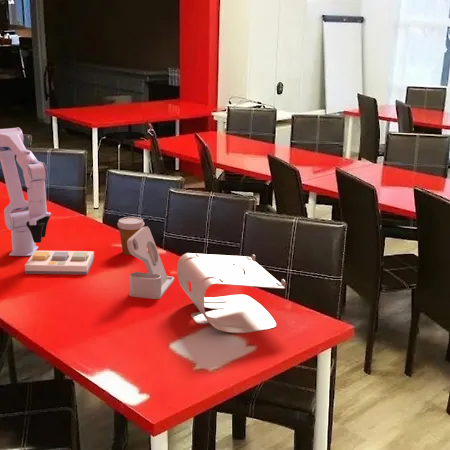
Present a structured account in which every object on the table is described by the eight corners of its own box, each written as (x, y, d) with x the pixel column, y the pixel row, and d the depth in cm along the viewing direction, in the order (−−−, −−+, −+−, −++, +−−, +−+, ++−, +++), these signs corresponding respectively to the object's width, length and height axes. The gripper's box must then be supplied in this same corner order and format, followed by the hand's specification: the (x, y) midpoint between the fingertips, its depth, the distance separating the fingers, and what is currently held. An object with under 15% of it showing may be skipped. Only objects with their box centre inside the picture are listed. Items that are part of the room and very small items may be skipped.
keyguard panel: (36, 258, 224) (35, 249, 223) (94, 259, 224) (93, 250, 223) (25, 273, 210) (24, 264, 209) (86, 274, 211) (86, 265, 210)
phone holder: (158, 300, 193) (158, 243, 188) (126, 296, 195) (125, 240, 190) (175, 278, 209) (175, 225, 204) (145, 275, 211) (144, 223, 206)
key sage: (74, 257, 219) (74, 252, 218) (87, 257, 219) (87, 252, 218) (72, 262, 215) (71, 256, 214) (85, 262, 215) (85, 256, 214)
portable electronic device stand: (176, 302, 192) (176, 253, 187) (249, 292, 200) (251, 245, 195) (203, 340, 169) (204, 285, 165) (285, 328, 177) (288, 275, 173)
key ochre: (36, 257, 219) (35, 251, 218) (49, 257, 219) (48, 251, 218) (32, 261, 214) (32, 255, 214) (45, 261, 214) (45, 256, 214)
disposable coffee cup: (112, 253, 230) (111, 221, 227) (128, 246, 238) (127, 215, 235) (134, 258, 226) (134, 225, 223) (150, 250, 234) (149, 219, 231)
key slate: (55, 257, 219) (55, 251, 218) (68, 257, 219) (68, 251, 218) (52, 261, 214) (52, 256, 214) (65, 262, 215) (65, 256, 214)
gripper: (44, 206, 204) (46, 246, 208) (54, 194, 217) (56, 232, 221) (21, 205, 203) (24, 246, 207) (33, 194, 217) (35, 232, 221)
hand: (39, 239), depth 214 cm, fingers open, 5 cm apart
